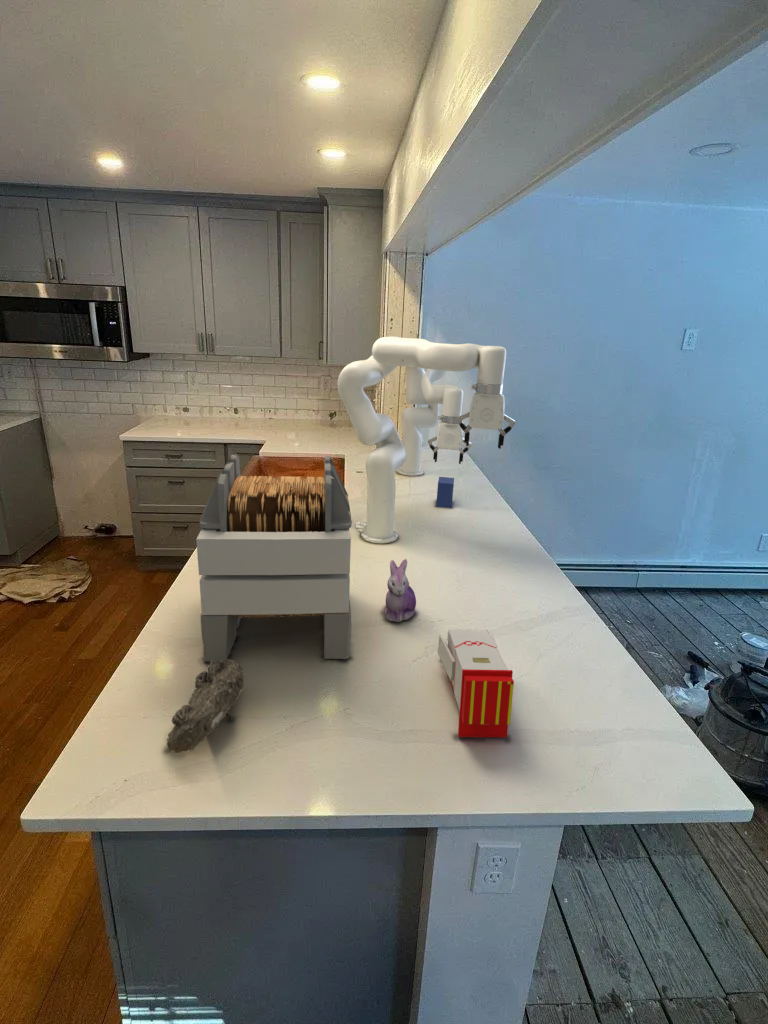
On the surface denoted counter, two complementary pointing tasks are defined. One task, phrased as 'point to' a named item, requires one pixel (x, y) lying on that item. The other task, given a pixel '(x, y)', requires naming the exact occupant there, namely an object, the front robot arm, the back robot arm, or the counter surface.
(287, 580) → the record crate
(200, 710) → the fossil
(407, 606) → the figurine
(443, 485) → the block
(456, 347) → the front robot arm
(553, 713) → the counter surface
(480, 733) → the toy
